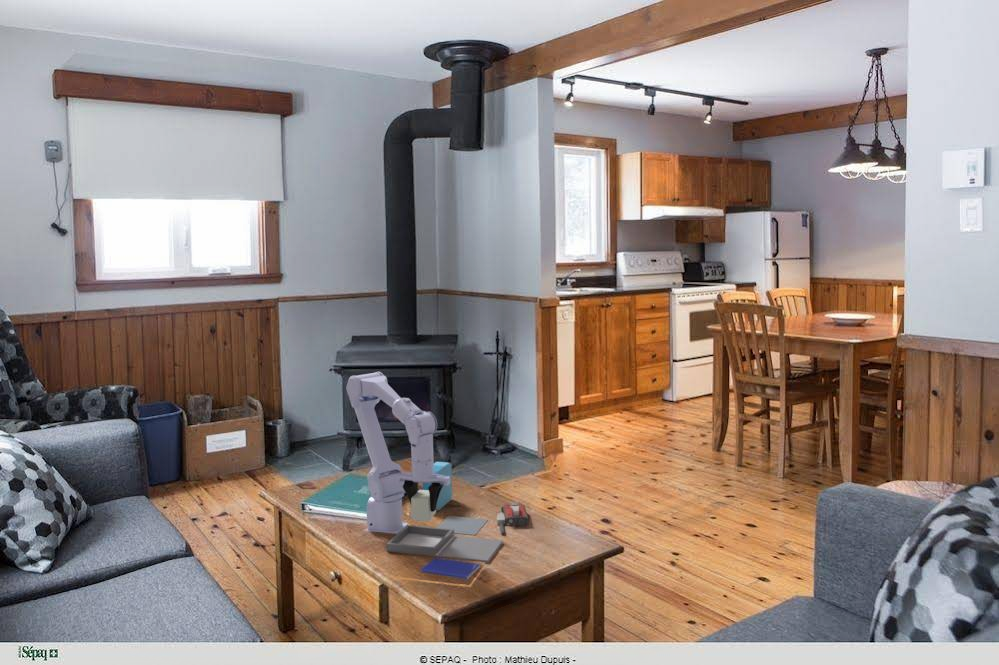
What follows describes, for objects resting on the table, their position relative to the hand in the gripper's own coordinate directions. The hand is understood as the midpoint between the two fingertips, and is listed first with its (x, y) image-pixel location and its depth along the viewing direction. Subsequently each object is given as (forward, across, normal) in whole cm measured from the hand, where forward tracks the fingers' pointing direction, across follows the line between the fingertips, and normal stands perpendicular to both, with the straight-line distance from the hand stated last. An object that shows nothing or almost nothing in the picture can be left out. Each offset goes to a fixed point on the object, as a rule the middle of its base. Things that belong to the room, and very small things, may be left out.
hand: (424, 509), depth 208 cm
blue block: (+10, +8, -30) cm, 32 cm away
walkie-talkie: (+10, -18, -20) cm, 29 cm away
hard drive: (+10, -12, +14) cm, 21 cm away
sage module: (+2, 0, 0) cm, 2 cm away
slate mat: (+9, -5, -14) cm, 17 cm away
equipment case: (+9, -6, +1) cm, 11 cm away
